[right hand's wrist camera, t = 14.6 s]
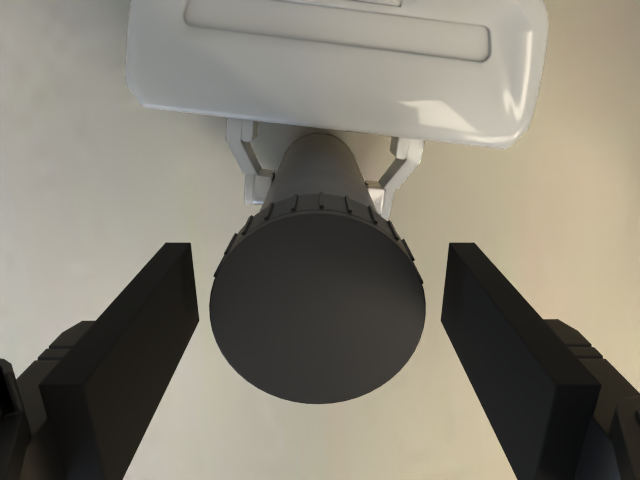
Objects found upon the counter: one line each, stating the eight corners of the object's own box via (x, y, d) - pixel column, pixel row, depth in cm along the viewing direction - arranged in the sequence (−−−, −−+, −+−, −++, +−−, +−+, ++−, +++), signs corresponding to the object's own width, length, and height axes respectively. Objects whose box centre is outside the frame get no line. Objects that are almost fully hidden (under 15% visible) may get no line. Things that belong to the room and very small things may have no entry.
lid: (390, 166, 13) (402, 182, 11) (430, 340, 15) (447, 380, 13) (193, 221, 14) (171, 245, 12) (258, 381, 16) (249, 425, 14)
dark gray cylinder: (345, 123, 30) (386, 199, 12) (364, 197, 31) (425, 362, 13) (270, 145, 30) (198, 250, 12) (293, 217, 32) (259, 401, 14)
